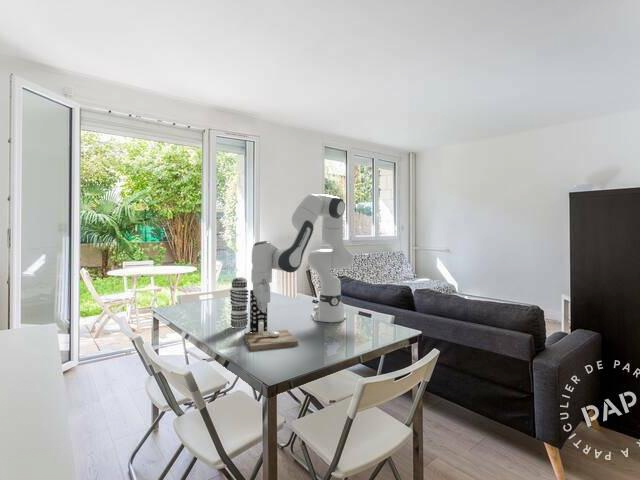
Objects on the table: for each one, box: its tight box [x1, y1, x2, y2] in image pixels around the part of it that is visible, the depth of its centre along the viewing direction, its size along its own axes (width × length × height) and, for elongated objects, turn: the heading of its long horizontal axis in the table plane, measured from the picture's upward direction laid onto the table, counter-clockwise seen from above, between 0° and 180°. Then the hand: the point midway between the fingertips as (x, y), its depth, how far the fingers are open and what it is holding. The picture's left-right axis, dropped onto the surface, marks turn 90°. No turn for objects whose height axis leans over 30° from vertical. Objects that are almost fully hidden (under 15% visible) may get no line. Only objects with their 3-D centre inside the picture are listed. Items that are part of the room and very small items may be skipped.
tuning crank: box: [257, 322, 279, 337], centre depth 155 cm, size 10×4×6 cm, turn 110°
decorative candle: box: [229, 276, 250, 329], centre depth 178 cm, size 9×9×25 cm
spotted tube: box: [249, 289, 268, 333], centre depth 171 cm, size 8×8×20 cm
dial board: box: [243, 329, 299, 351], centre depth 155 cm, size 19×20×2 cm
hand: (261, 309), depth 153 cm, fingers open, 8 cm apart
